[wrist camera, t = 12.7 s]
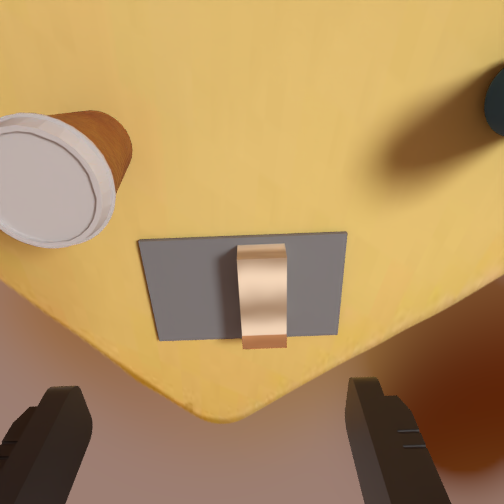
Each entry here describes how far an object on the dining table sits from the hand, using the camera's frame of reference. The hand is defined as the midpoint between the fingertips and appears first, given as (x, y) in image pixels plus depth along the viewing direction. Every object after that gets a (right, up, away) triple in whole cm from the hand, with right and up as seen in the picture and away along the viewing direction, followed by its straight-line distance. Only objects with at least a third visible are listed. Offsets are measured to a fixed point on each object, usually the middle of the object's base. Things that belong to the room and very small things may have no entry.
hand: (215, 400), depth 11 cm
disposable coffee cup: (-13, +14, +24) cm, 31 cm away
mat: (0, 0, +32) cm, 32 cm away
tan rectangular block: (+2, 0, +32) cm, 32 cm away
